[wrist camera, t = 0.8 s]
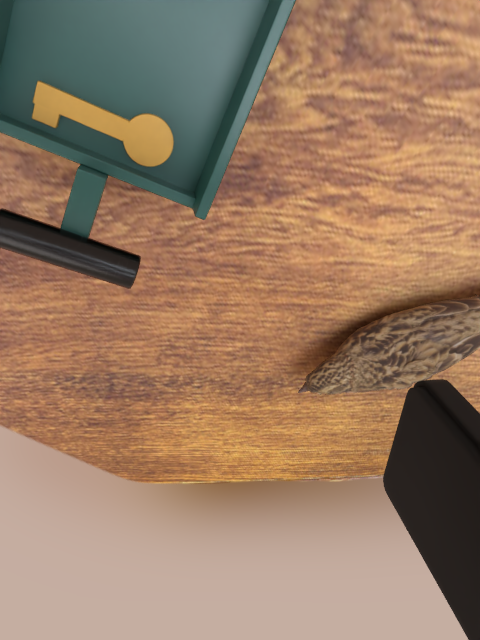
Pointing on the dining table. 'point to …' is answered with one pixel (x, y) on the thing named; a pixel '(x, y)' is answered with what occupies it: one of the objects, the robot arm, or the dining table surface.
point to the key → (107, 124)
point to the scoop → (131, 104)
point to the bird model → (401, 349)
